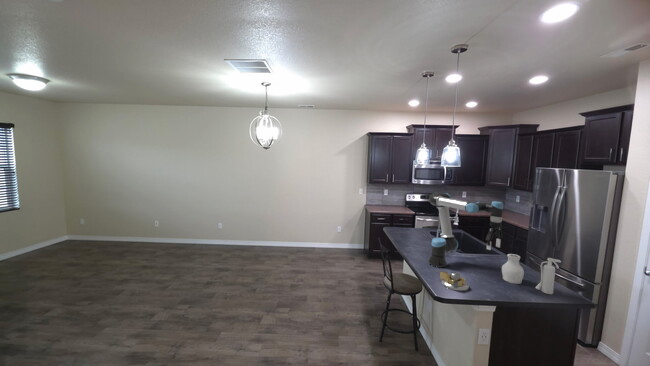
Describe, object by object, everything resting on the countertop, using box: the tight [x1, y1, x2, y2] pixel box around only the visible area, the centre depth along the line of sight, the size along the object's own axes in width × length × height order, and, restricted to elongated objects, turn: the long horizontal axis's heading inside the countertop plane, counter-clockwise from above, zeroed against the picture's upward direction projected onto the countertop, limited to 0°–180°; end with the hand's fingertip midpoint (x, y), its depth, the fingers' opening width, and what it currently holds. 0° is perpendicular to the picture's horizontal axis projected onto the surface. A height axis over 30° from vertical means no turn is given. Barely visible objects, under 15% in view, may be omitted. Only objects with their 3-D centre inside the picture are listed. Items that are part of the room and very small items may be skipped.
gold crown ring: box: [439, 270, 466, 287], centre depth 191 cm, size 17×12×5 cm
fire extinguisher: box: [535, 257, 562, 295], centre depth 183 cm, size 7×12×25 cm, turn 65°
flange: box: [441, 271, 470, 292], centre depth 189 cm, size 18×18×9 cm
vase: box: [501, 253, 525, 285], centre depth 201 cm, size 14×14×20 cm
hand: (493, 248), depth 200 cm, fingers open, 13 cm apart
